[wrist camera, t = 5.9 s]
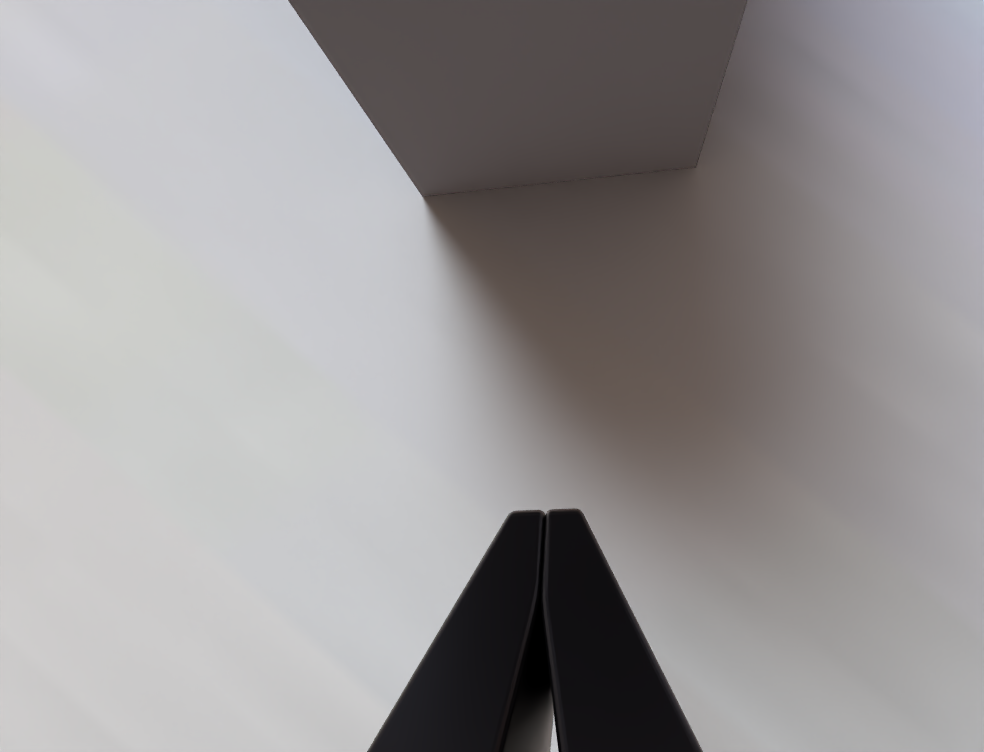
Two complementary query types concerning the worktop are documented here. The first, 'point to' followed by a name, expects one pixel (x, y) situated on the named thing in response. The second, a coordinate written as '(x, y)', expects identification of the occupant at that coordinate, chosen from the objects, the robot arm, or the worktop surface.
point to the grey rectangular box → (530, 83)
